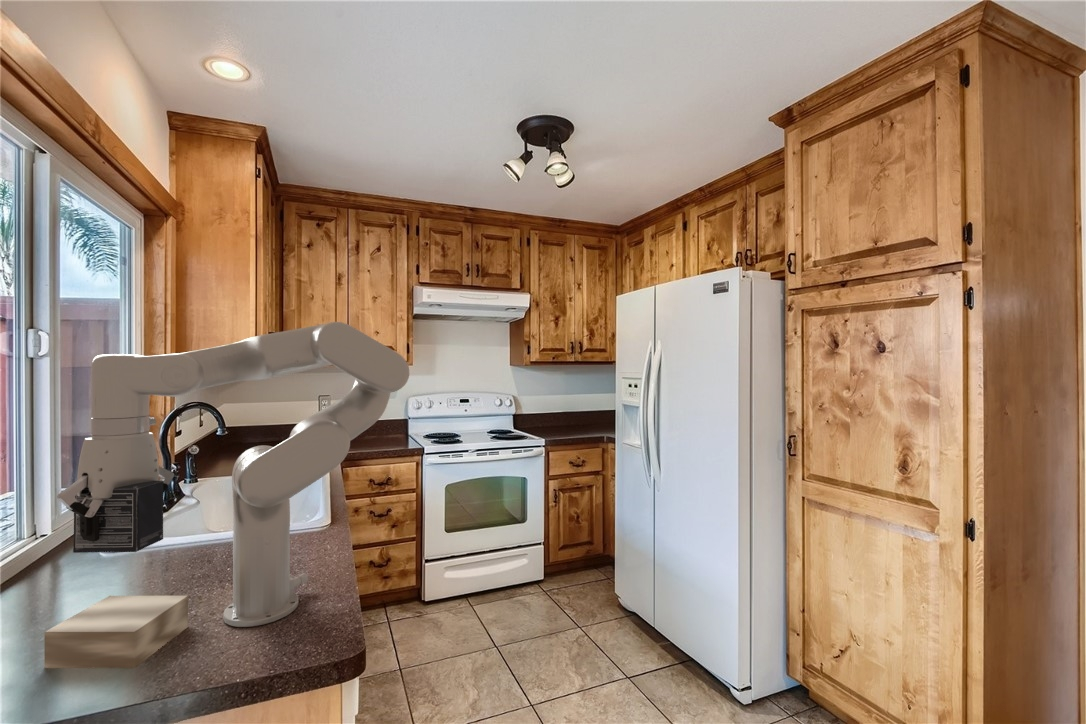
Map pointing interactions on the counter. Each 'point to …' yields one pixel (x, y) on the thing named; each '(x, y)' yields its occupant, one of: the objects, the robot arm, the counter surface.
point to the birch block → (116, 632)
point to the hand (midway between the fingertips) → (120, 530)
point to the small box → (125, 519)
